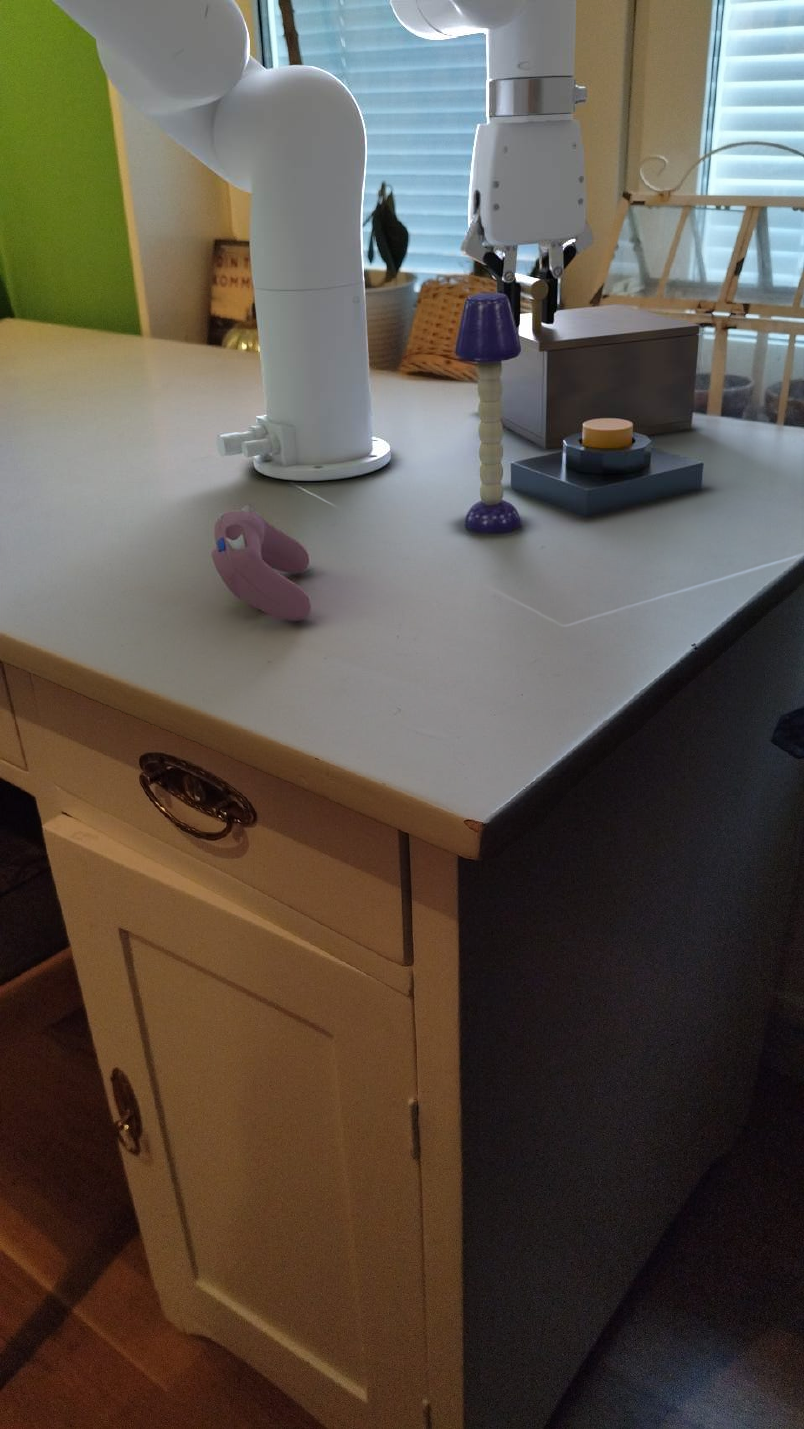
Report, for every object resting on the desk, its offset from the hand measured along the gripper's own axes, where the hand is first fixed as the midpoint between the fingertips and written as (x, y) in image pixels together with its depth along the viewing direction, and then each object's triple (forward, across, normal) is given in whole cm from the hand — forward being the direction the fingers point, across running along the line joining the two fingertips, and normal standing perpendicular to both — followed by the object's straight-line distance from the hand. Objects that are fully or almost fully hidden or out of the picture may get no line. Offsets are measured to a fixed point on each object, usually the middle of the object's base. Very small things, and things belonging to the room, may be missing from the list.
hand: (527, 322), depth 105 cm
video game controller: (+10, +34, +33) cm, 48 cm away
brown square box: (+10, -6, 0) cm, 12 cm away
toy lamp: (+10, +15, +26) cm, 32 cm away
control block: (+10, +2, +21) cm, 24 cm away
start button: (+7, +3, +21) cm, 22 cm away
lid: (+1, -6, 0) cm, 6 cm away
